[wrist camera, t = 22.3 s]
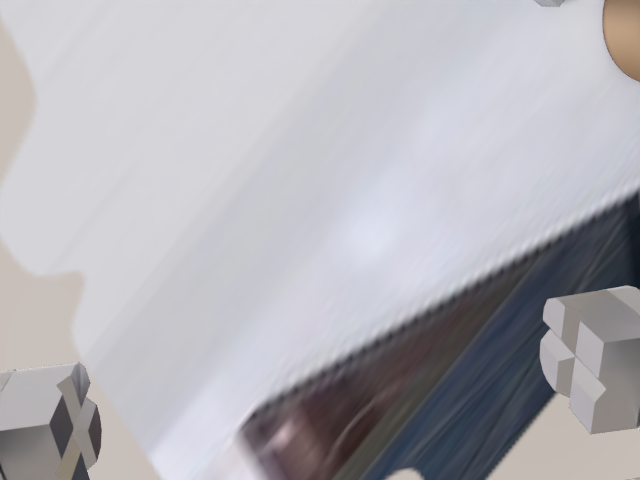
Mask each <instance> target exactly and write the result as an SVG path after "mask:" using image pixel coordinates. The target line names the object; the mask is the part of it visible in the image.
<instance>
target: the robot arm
mask: <svg viewBox="0 0 640 480" xmlns="http://www.w3.org/2000/svg"><path fill="white" fill-rule="evenodd" d="M543 321H544V322H545V323H546V324H547V326H548V327H549V328H550V329H549V331H548V332H547V333H546V335H545V336H544V337H543V338H542V340H541V345H540V360H541V364H542V369H543V372H544V374H545V376H546V379H547V381H548V382H549V384H550V385H551V386H552V388H553V389H554V390H555V391H556V392H558V393H560V394H562V395H565V396H567V397H569V398H570V402H569V409H570V410H571V411H572V412H573V414H574V415H575V416H576V417H577V419H579V421H580V422H581V423H582V425H583V426H584V427H585V428H586V430H587V431H588V432H589V433H590V434H596V433H604V432H612V431H619V430H627V429H634V428H639V431H640V290H638V289H637V288H635V287H631V286H623V287H617V288H611V289H605V290H601V291H595V292H589V293H583V294H576V295H570V296H564V297H558V298H552V299H548V300H547V302H546V304H545V307H544V313H543ZM89 385H90V380H89V377H88V374H87V371H86V368H85V366H83V365H82V364H81V363H80V362H77V363H68V364H60V365H51V366H43V367H35V368H26V369H19V370H8V371H2V372H0V480H90V479H89V476H88V472H87V470H88V469H89V468H90V467H91V466H92V465H94V463H95V462H97V459H98V455H99V452H100V448H101V422H100V415H99V412H98V408H97V405H96V404H95V403H94V402H92V401H91V400H90V399H88V398H87V397H86V394H87V391H88V388H89ZM628 480H640V478H634V479H628Z"/></svg>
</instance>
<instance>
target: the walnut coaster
mask: <svg viewBox="0 0 640 480" xmlns="http://www.w3.org/2000/svg"><path fill="white" fill-rule="evenodd" d="M603 33H604V39H605V43H606V46H607V49H608V52H609V54H610V56H611V57H612V59H613V61H614V62H615V64H616V65H617V66H618V67H619V68H620V69H621V70H622V71H623V72H624V73H625V74H626V75H628V76H629V77H631V78H632V79H635V80H637V81H639V82H640V0H605V2H604V8H603Z"/></svg>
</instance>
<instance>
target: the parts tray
mask: <svg viewBox="0 0 640 480" xmlns="http://www.w3.org/2000/svg"><path fill="white" fill-rule="evenodd" d="M535 1H536V2H537V3H538V4H539V5H541V6H546V7H560V5H561V4H562V3H563V1H564V0H535Z"/></svg>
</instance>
